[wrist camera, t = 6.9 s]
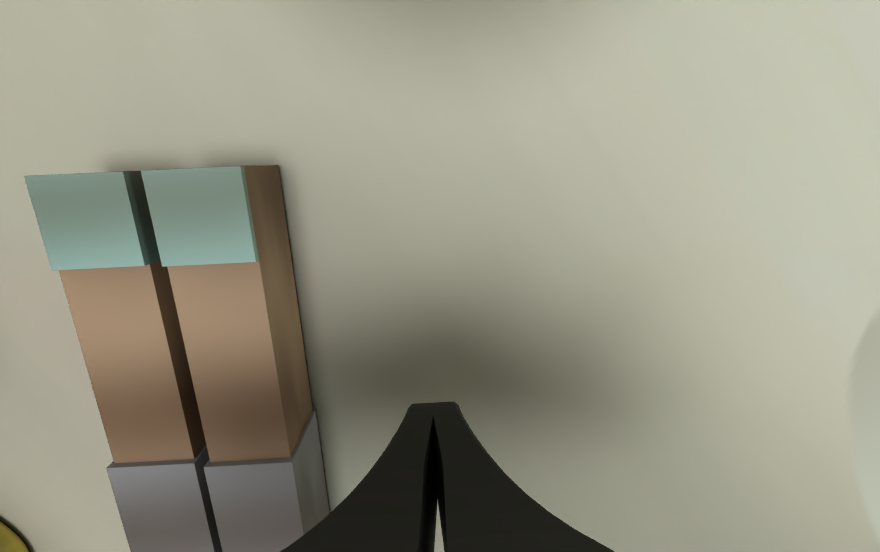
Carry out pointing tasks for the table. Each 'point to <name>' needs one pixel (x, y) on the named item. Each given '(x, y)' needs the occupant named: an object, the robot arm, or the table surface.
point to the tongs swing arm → (242, 349)
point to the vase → (10, 541)
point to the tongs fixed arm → (131, 354)
